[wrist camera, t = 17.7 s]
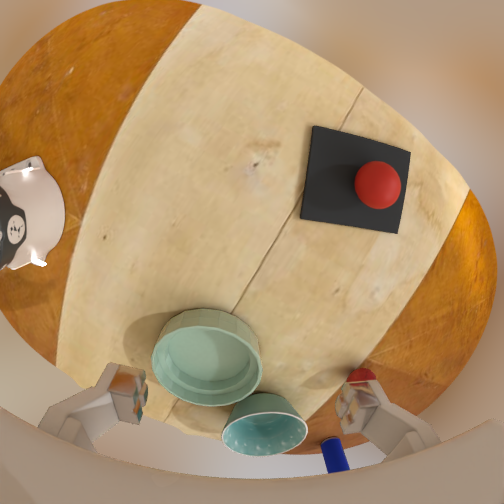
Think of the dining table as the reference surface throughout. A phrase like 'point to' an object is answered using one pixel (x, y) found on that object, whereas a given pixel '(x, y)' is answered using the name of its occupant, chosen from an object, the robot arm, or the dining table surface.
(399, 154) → the mat
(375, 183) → the red ball
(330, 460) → the beverage can
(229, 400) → the fruit bowl
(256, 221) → the dining table surface
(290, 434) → the bowl
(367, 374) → the onion
